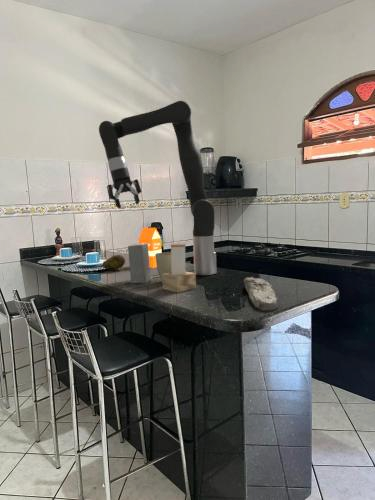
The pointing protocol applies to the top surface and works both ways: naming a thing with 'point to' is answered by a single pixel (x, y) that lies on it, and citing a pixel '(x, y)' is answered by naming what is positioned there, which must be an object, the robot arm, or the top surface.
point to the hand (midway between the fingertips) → (128, 205)
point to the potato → (114, 262)
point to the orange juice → (151, 243)
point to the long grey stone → (261, 293)
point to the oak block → (179, 281)
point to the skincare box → (139, 263)
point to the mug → (163, 263)
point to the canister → (178, 259)
